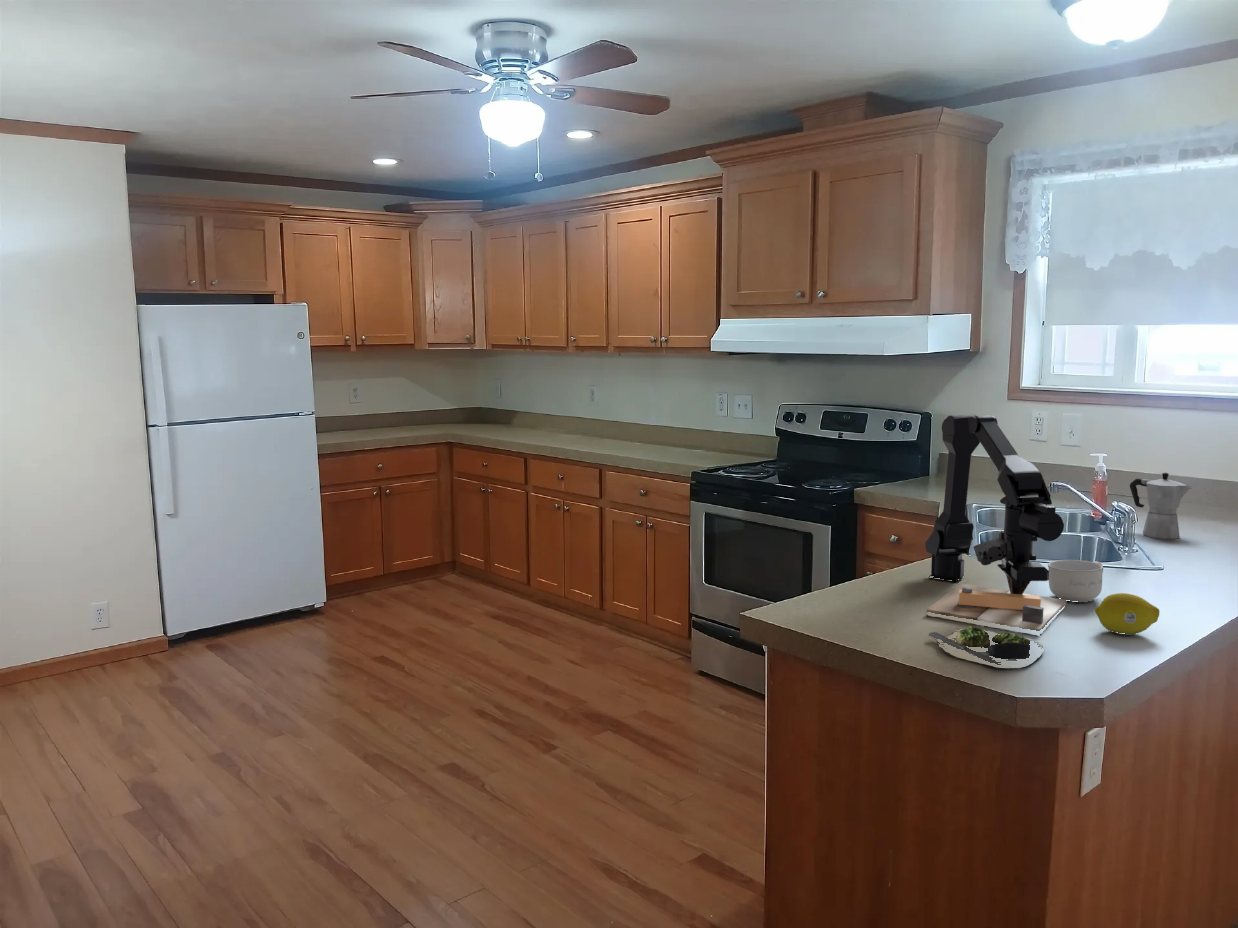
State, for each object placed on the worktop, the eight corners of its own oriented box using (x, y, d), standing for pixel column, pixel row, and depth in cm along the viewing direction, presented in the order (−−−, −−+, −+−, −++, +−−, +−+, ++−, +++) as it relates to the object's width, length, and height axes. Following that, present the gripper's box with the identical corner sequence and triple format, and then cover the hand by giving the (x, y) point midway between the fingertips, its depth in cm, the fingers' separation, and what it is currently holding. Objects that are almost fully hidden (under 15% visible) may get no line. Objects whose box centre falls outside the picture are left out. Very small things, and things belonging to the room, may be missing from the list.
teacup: (1071, 608, 191) (1073, 572, 189) (1035, 594, 201) (1036, 559, 200) (1124, 602, 194) (1127, 566, 193) (1086, 588, 205) (1088, 554, 203)
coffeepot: (1192, 536, 252) (1197, 473, 250) (1182, 542, 246) (1187, 477, 243) (1132, 528, 263) (1136, 467, 261) (1121, 533, 257) (1125, 471, 254)
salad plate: (909, 653, 167) (910, 629, 167) (949, 629, 180) (950, 606, 180) (1016, 679, 154) (1018, 653, 154) (1051, 651, 167) (1052, 627, 167)
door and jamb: (926, 616, 187) (927, 595, 187) (961, 589, 205) (961, 570, 205) (1039, 636, 174) (1040, 614, 173) (1066, 606, 192) (1067, 586, 191)
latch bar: (959, 604, 188) (959, 589, 188) (958, 601, 191) (959, 586, 190) (1040, 611, 183) (1040, 595, 183) (1038, 607, 185) (1039, 592, 185)
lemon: (1091, 635, 174) (1094, 595, 173) (1095, 623, 181) (1098, 585, 180) (1156, 644, 169) (1159, 603, 167) (1158, 632, 175) (1161, 593, 174)
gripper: (965, 518, 195) (962, 586, 198) (993, 540, 177) (989, 616, 180) (1018, 517, 194) (1014, 586, 197) (1052, 540, 176) (1047, 616, 179)
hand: (1015, 600), depth 188 cm, fingers closed
